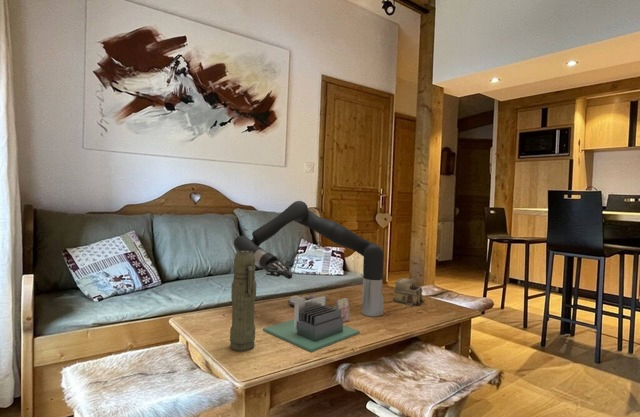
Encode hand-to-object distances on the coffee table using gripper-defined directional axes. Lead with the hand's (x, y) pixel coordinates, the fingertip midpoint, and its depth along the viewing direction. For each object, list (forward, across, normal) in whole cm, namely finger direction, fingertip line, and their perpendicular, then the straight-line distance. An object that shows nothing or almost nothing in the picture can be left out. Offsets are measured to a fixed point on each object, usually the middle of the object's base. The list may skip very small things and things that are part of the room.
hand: (291, 276), depth 159 cm
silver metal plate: (+15, -1, +15) cm, 21 cm away
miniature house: (+23, +67, +30) cm, 77 cm away
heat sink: (+17, -2, +17) cm, 24 cm away
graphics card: (-11, +22, +31) cm, 40 cm away
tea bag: (+17, +17, +21) cm, 32 cm away
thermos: (+9, -31, +14) cm, 35 cm away
